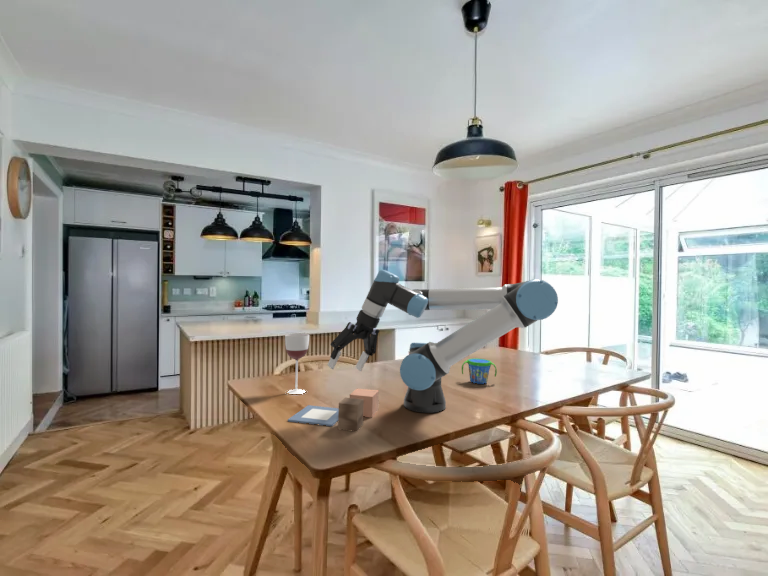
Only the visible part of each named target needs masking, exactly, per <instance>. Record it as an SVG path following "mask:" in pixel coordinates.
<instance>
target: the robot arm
mask: <svg viewBox="0 0 768 576" xmlns="http://www.w3.org/2000/svg"><path fill="white" fill-rule="evenodd" d="M399 281H400V277H399V276H398V275H396V274H395V273H392V272H391V271H389V270H386V269H380V270H378V273H377V274H376V277H375V278H374V279H373V282H372V285H371V286H370V287H369V288H370V289H369V291H368V293H367V295H366V297H365V300H364V301H363V304H362V306H361V309H360V310H359V312H358V314H357V316H356V322H355V324H354V323H352V322H351V321H349V322H348V323H347V324H346V325H345V327H344V329H343V330H342V331H340V333H339V334H338V335H337V336H336V337H335V338H334V340H333V341H331V342H330V346H331V347H332V348H333V350H332V352H331V353H330V358H329V361H328V363H327V365H326V366H328V367H329V368H330V369H331V370H334V369H335V366H336V365H337V362H338V361H339V358H340V356H341V355H342V351H341V350H343V349H344V348H345V347H346V346H347V347H348V345H349V344H351V342H353V341H355V340H357V339H358V340H363V347H364V351H362V352H361V355H360V357H359V359H358V361H357V363H356V365H355V369H357V370H358V371H359V372H362V371H363V368H364V367H365V364H366V363H367V361H368V359H369V357H373V355H375V354H376V353H377V344H378V336H379V333H380V330H379V329H378V328H377V327H378V325H379V323H380V320H381V319H380V318H382V317H383V314H384V313H385V310H386V308H387V305H388V304H389V305H392V306H393V307H395V308H397V309H398V310H401V311H402V312H405V313H406V314H408V315H409V316H413V317H415V318H416V319H417V318H418V319H419V318H421V317H422V316H423V314H424V312H425V311H451V310H452V311H453V310H456V311H457V310H458V311H459V310H462V311H463V310H464V311H465V310H467V311H469V310H477V311H478V310H487V311H486V312H485V313H482V315H480V316H478V317H476V318H475V319H474V320H473V319H472V321H470V322H468V323H467V324H465V325H464V326H462V327H461V328H459V329H457V330H455V331H454V332H452V333H450V334H449V335H447V336H446V337H444V338H443V339H441V340H440V341H438V342H433V341H432V342H431V341H429V342H411V343H410V345H409V349H408V350H409V354H408V355H406V356H405V357H404V358H403V359H402V361H401V364H400V367H399V375H400V378H401V380H402V382H403V383H404V385H405V386H406V387H407V389H406V392H405V395H404V398H403V407H404V408H406V409H407V410H409V411H411V412H416V413H417V412H418V413H424V414H425V413H427V414H431V413H438V412H439V411H440V412H442V410H443V411H444V410H445V409H446V408H447V407H446V404H447V402H446V397H445V395H444V391H443V388H442V378H443V377H445V376H447V375H448V374H449V373H450V371H451V367H452V366H453V365H455V364H457V363H458V362H460V361H462V360H464V359H465V358H467V357H469V356H470V355H472V354H474V353H475V352H477V351H478V350H481V349H482V348H484V347H485V346H487V345H488V344H490V343H492V342H494V341H495V340H497V339H499V338H500V337H502V336H504V335H506V334H507V333H509V332H511V331H513V330H514V329H515V328H521V329H526V328H527V327H529V326H531V325H533V324H534V323H536V322H537V321H541V320H544V319H545V320H546V319H547V318H549V317H551V316H552V315H553V313H554V312H555V311H556V309H557V307H558V304H559V297H558V294H557V291H556V289H555V288H554V286H552V285H551V284H550V283H549V282H547V281H546V280H543V279H529V280H526V281H522V282H517V283H508V284H507V283H506V284H504V285H503V286H501V287H497V286H496V287H465V288H463V287H462V288H461V287H460V288H458V287H457V288H433V289H432V288H431V289H416V288H415V289H410V288H408V287H406V286H404V285H402V284H401V283H399Z"/></svg>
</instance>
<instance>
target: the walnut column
mask: <svg viewBox="0 0 768 576" xmlns="http://www.w3.org/2000/svg"><path fill="white" fill-rule="evenodd" d="M363 404H364V399H355V398H350V397H344V398H343V399H342V400H341V401H339V403H338V408H339V414H338V423H337V424H338V426H337V428H338V429H337V430H339V429H343V430H342V431H347V430H352V431H351V432H355V431H357V432H358V431H359V430H360V429H361V428H362V427H361V426H363V425H364V417H363ZM360 427H361V428H360ZM359 428H360V429H359Z"/></svg>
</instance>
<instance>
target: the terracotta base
mask: <svg viewBox="0 0 768 576" xmlns="http://www.w3.org/2000/svg"><path fill="white" fill-rule="evenodd" d="M379 394H380V390H377V389H366V388H355V389H354V390H353V391H352V392H351V393H350V394H349V398H355V399H364V404H363V416H365V417H364V418H371V417H372V418H373V417H374V416H375V415H376V414H377V413H378V411H379V400H380V399H379V398H380V397H379ZM375 413H376V414H375Z"/></svg>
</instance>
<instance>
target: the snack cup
mask: <svg viewBox="0 0 768 576" xmlns="http://www.w3.org/2000/svg"><path fill="white" fill-rule="evenodd" d="M466 363H467V364H468V374H469V375H468V376H469V381H471V382H470V383H472V382H473V383H472V384H475V383H477V384H478V385H485V384H487V383H488V379H489V374H490V370H491V366H493V367H494V368H495V370H494V377H497V374H498V370H497V365H496V364H494V363H493V362H492V361H491V360H489V359H485V358H476V357H475V358H468V359H467V360H465V361H464V362H463V363H462V364H461V374H462V375H464V365H465V364H466ZM484 383H485V384H484Z"/></svg>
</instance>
